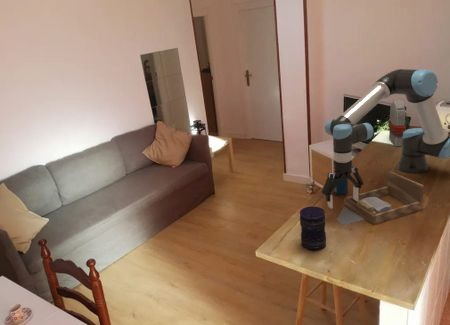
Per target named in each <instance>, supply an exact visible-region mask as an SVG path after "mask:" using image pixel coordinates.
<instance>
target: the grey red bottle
mask: <svg viewBox="0 0 450 325" xmlns="http://www.w3.org/2000/svg"><path fill="white" fill-rule="evenodd" d="M405 110H406V109H405V104H404V101H403V100H402V99H397V100H396V99H395V100H392V101H391V103H390V109H389V119H388V128H389V130H388V132H389V133H388V134H389V135H388V138H389V141H390V142H391V143H392V145H394V147H402V138H403V132H404V131H405V130H406V126H405V122H406V121H405V120H406V111H405Z"/></svg>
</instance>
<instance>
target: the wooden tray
mask: <svg viewBox="0 0 450 325" xmlns="http://www.w3.org/2000/svg"><path fill="white" fill-rule="evenodd" d="M386 174H387V176H386V177H387V178H386V179H387V180H386V186H383V187H380V188H375V189H373V190H368V191H366V192H362V193H358V201H359V200H363V199H365V198H368V197H377V198H381V197H385V196H388V195H389V196H391V197H393V198H395V199H397V200H399V202H400V201H401V202H402V203H404V204H405V205H401V206H398V207H395V208H391V210H388V211H384V212H381V213H378V214H375V215H374V214H372V213H371V212H369V211H368V210H366V209H364V208H363V207H361V206H359V205H358V204H357V201H356V200H354V199H353V195H351V196H347V197H344V199H343V200H344V207H345V206H346V207H347V208H349V209H350V210H352V211H353V212H355V213H356V214H358V215H359V216H361V217H362V218H364V219H365V221H367V222H369V223H371V224H372V225H373V226H374V225H377V224H379V223H384V222H387V221H390V220H393V219H396V218H400V217H403V216H406V215H409V214H412V213H417V212H419V211H423V200H424V190H425V189H424V187H425V186H424V184H421V183H419V182H417V181H414V180H412V179H409V178H407V177H405V176H402V175H400V174H398V173H396V172H394V171H391V170H388V171H387V173H386Z"/></svg>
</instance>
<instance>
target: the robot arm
mask: <svg viewBox="0 0 450 325" xmlns="http://www.w3.org/2000/svg"><path fill="white" fill-rule="evenodd" d="M438 80H439V79H438V78H437V75H436V73H435V72H434V71H432V70H431V69H430V70H429V69H424V68H421V69H420V68H419V69H413V68H412V69H411V68H410V69H402V68H399V69H395V70H392V71H390V72H388V73H387V74H385V75H383V76H381V77H380V78H378V79H377V80H376V81H375V82H373V84H372V86H371V88H370V89H369V90H368V91H367V92H366V93H364V94H363V95H362V96H361V97H360V98H358V99H357V101H355V103H353V104H352V105H350V107H348V108H347V109H346V110H345V111H344V112H343V113H342V114H340V115H339V116H338V117H337V118H336V119H334V118H333V119H328V120H327V121H326V123H325V125H324V131H325V133H326V134H327V135H329V136H332V142H333V143H332V145H333V170H334V171H333V172H328V173H327V178H326V180H325V183H324V185H323V188H322V191H321V194H323V195H324V196H325V200H326V202H327V207H329V208H330V209H333V203H334V202H333V194H332V193H334V189H335V187H336V186H337V184H338V183H339V182H340V181H343V180H347V179H348V180H349V181H350V182H351V183H352V184H353V187H352V188H353V189H352V191H353V192H352V196H353V199H354V200H356V201H358V194H361V193H360V189H361V188H362V186H364V184H365V183H364V181H363V179H362V177H361V175H360V173H359V170H358V167H356V166H354V165H352V164H353V162H352V161H353V145H355V144H358V143H361V142H365V141H367V140H370V139H371V138H372V137H373V136H374V128H373V126H372V125H371V123H369V122H364V123H360V124H359V123H358V122H359V121H361V119H363V117H365V116H366V115H367V114H368V113H369V112H371V111H372V110H373V109H374V107H376V106H377V105H378V104H380V102H382V100H383V99H388V98H389V97H390V96H392V95H397V94H398V95H405V98H406V100H407V102H409V103H410V104H412V106H413V108H414V111H415V113H416V116H417V119H418V122H419V123H420V126H421V127H414V128H409V129H405V131H404V132H403V138H402V146H401V156H400V158H399V161H398V163H397V169H398V170H399V171H402V172H404V173H409V174H410V173H411V174H419V173H421V174H422V173H425V172H427V171H428V168H429V164H428V162H427V158H426V156H430V157H433V158H438V159H444V160H446V159H448V158H450V134H449V132H448V130H447V129H445V128H444V127H443V124H442V122H441V118H440V115H439V113H438V109H437V107H436V104H435V101H434V97H433V96H434V95H435V92H436V91H437V88H438V84H439V82H438ZM351 174H352V175H353V176H354V177H353V176H352V175H351ZM334 176H335V177H334ZM336 179H338V180H336Z"/></svg>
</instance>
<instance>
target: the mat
mask: <svg viewBox="0 0 450 325" xmlns="http://www.w3.org/2000/svg"><path fill="white" fill-rule="evenodd" d="M364 220H365V221H366V219H364V218H363V217H361V216H360V215H358V214H357V213H355V212H354V211H352V210H351V209H349V208H348V207H346V206H345V205H344V206H343V208H342V210H341V212H340V214H339V215H338V216H337V218H336V222H338V223H340V225H341V226H347V225H348V226H349V225H350V224H354V223H358V222H362V221H364Z"/></svg>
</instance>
